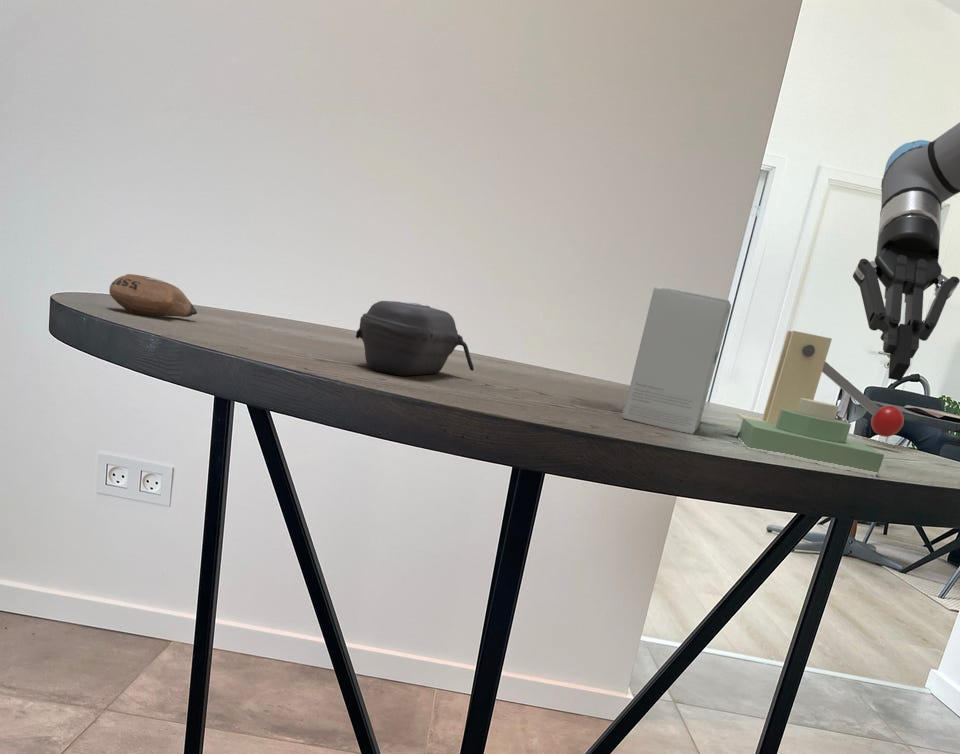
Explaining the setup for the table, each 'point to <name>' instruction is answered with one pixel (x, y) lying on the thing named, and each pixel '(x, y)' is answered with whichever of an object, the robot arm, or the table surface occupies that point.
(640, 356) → the white packaging box
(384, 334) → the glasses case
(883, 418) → the lever
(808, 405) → the button
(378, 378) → the table surface
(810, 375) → the bracket
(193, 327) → the table surface
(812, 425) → the button box
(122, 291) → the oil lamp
